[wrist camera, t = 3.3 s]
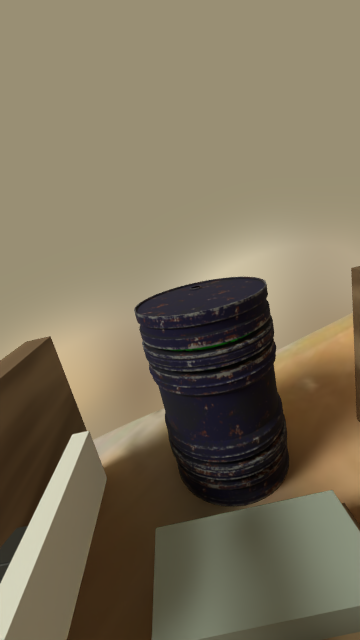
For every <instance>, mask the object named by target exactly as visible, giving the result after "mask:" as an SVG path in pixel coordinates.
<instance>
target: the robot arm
mask: <svg viewBox="0 0 360 640" xmlns="http://www.w3.org/2000/svg"><path fill="white" fill-rule="evenodd" d="M106 481H107V477H106V474H105V471H104V469H103V466H102V464H101V461H100V458H99V456H98V453H97V450H96V448H95V445H94V443H93V440H92V438H91V435H90V432H89V431H86V432H81V433H77V434H72V436H71V438H70V440H69V442H68V444H67V446H66V449H65V451H64V453H63V455H62V457H61V459H60V461H59V463H58V465H57V467H56V469H55V471H54V473H53V475H52V478H51V480H50V482H49V484H48V486H47V488H46V490H45V492H44V494H43V496H42V498H41V500H40V502H39V504H38V507H37V509H36V511H35V513H34V515H33V517H32V519H31V521H30V523H29V525H28V526H24V527H19V528H16V529H15V531H14V532H13V533H12V534H11V535H10V537H9V538H8V539H7V540H6V541H5V543H4V544H3V545H2V546H1V548H0V640H67V637H68V633H69V629H70V625H71V621H72V617H73V613H74V609H75V605H76V601H77V597H78V593H79V589H80V585H81V581H82V577H83V573H84V569H85V565H86V561H87V557H88V553H89V549H90V545H91V541H92V537H93V533H94V529H95V525H96V521H97V517H98V513H99V509H100V505H101V501H102V497H103V493H104V489H105V485H106Z"/></svg>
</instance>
